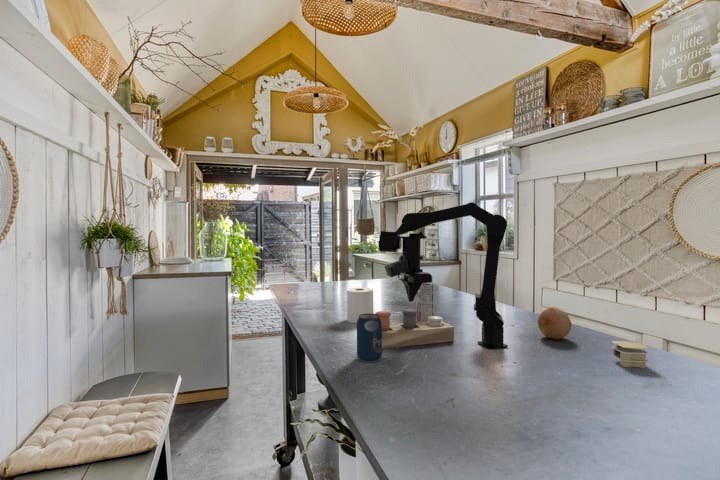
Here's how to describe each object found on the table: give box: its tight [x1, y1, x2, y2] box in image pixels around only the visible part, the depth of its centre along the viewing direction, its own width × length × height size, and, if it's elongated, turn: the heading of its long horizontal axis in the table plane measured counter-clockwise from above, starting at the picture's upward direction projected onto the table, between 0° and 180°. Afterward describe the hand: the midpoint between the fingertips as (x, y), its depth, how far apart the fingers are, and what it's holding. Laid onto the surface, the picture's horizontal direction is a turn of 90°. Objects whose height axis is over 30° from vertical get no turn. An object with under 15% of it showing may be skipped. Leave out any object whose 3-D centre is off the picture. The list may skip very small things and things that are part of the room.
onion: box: [537, 306, 572, 340], centre depth 125 cm, size 10×10×10 cm
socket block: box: [382, 320, 455, 350], centre depth 124 cm, size 10×26×4 cm, turn 107°
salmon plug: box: [374, 310, 392, 331], centre depth 122 cm, size 5×5×6 cm
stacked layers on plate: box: [611, 340, 649, 369], centre depth 102 cm, size 10×9×6 cm
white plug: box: [428, 315, 443, 326], centre depth 127 cm, size 5×5×6 cm
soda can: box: [356, 313, 383, 363], centre depth 108 cm, size 7×7×12 cm
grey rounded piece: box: [401, 308, 417, 329], centre depth 124 cm, size 5×5×6 cm
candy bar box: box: [415, 282, 434, 321], centre depth 142 cm, size 11×5×16 cm, turn 179°
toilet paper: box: [346, 287, 374, 324], centre depth 151 cm, size 10×10×12 cm
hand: (410, 301), depth 124 cm, fingers closed
